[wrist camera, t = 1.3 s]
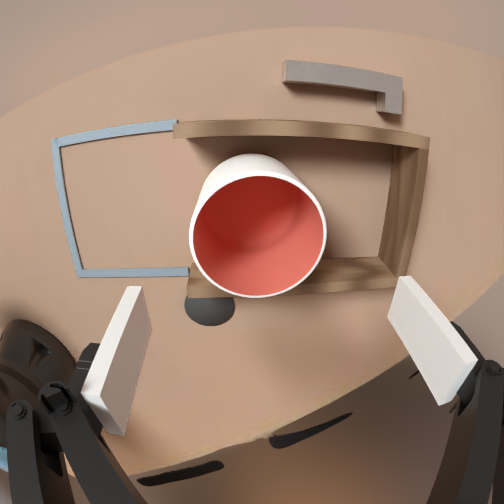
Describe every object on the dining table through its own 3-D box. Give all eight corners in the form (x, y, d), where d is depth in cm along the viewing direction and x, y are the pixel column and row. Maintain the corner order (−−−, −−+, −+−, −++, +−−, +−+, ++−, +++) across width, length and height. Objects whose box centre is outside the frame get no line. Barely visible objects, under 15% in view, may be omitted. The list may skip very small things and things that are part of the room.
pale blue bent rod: (78, 276, 33) (77, 277, 32) (51, 139, 25) (50, 139, 25) (188, 274, 34) (188, 275, 33) (177, 119, 26) (176, 119, 26)
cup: (210, 143, 27) (200, 159, 18) (309, 163, 29) (344, 188, 20) (194, 236, 32) (182, 289, 23) (285, 251, 33) (305, 305, 24)
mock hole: (187, 325, 37) (187, 326, 37) (181, 286, 34) (181, 286, 34) (234, 324, 37) (234, 325, 37) (233, 284, 35) (233, 285, 34)
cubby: (193, 272, 33) (188, 298, 29) (182, 122, 26) (172, 124, 22) (384, 264, 35) (402, 286, 30) (404, 131, 28) (429, 137, 23)
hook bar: (281, 102, 26) (285, 101, 24) (282, 63, 24) (285, 59, 22) (392, 113, 27) (401, 114, 25) (393, 78, 25) (402, 77, 23)
